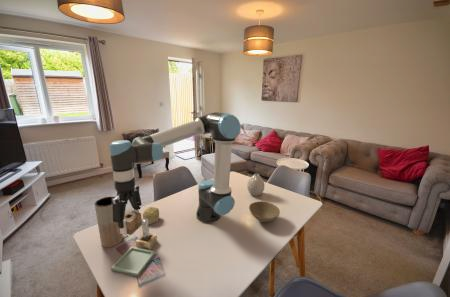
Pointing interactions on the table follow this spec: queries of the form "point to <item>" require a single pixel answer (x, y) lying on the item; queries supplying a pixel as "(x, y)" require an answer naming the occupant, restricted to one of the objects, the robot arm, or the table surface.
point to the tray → (133, 261)
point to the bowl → (264, 211)
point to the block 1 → (131, 222)
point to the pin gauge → (145, 230)
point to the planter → (107, 222)
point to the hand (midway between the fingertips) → (130, 227)
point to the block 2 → (145, 244)
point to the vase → (255, 185)
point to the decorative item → (151, 214)
